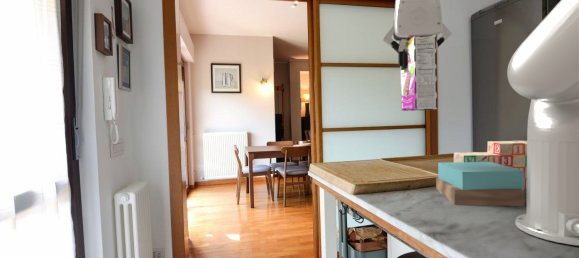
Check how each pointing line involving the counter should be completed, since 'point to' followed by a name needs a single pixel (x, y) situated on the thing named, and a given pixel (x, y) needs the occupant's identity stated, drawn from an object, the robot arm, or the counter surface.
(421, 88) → the candy bar box
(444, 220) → the counter surface
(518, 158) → the stack of blocks
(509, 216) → the counter surface
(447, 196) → the walnut base slab
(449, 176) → the teal top slab
